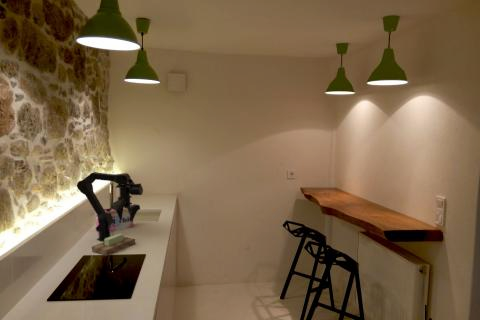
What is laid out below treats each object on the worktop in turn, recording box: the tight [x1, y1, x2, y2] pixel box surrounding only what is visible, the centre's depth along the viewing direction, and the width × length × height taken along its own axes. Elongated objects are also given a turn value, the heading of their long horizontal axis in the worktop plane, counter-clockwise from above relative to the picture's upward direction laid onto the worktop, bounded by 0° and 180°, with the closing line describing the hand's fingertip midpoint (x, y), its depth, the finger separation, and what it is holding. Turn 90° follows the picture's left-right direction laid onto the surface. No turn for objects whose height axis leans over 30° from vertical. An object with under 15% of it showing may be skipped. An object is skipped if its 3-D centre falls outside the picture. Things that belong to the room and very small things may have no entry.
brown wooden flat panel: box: [91, 235, 136, 257], centre depth 195 cm, size 12×20×3 cm, turn 150°
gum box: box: [94, 207, 134, 234], centre depth 229 cm, size 24×8×14 cm, turn 125°
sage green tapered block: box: [103, 233, 124, 246], centre depth 195 cm, size 4×10×6 cm, turn 150°
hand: (126, 220), depth 207 cm, fingers open, 9 cm apart
